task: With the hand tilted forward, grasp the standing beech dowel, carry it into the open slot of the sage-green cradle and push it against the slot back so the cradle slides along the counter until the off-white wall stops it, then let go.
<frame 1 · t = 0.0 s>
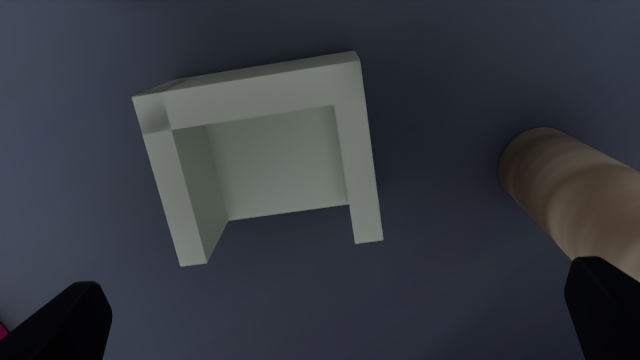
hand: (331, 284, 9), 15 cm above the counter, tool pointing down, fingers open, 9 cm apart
cradle: (270, 154, 22), point 3 cm above the counter, slide at 0.0 cm
dowel: (537, 165, 24), on the counter
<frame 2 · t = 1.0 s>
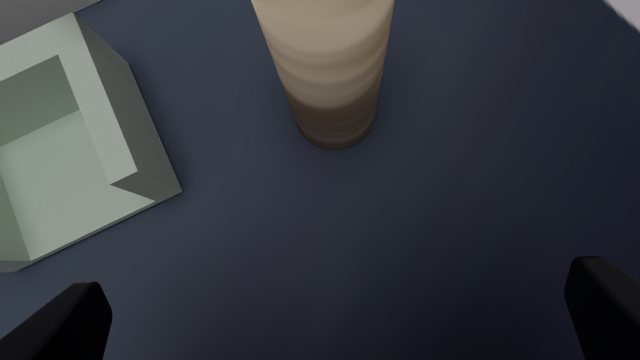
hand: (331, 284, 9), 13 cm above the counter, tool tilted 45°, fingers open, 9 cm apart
cradle: (41, 151, 21), point 3 cm above the counter, slide at 0.0 cm
backstop wall: (20, 21, 26), on the counter
dowel: (334, 110, 24), on the counter
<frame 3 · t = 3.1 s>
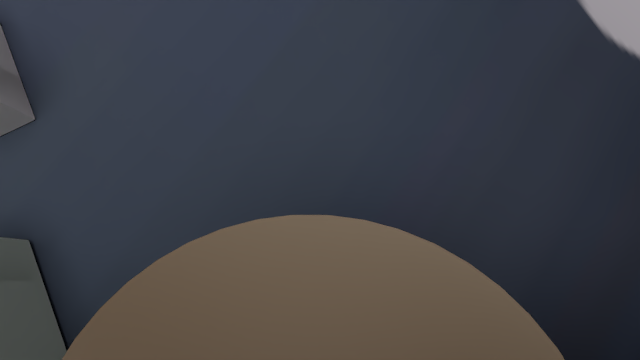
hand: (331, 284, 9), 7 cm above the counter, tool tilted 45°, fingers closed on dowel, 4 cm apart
dowel: (341, 324, 15), on the counter, touching gripper
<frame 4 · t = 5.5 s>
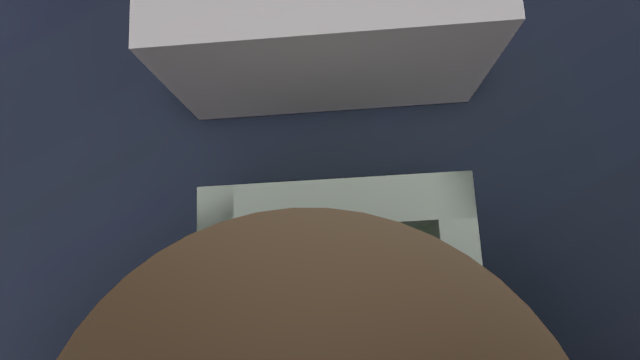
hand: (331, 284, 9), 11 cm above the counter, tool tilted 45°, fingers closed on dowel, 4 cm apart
cradle: (340, 294, 17), point 3 cm above the counter, slide at 0.0 cm
backstop wall: (330, 91, 21), on the counter
dowel: (341, 322, 15), point 4 cm above the counter, touching gripper
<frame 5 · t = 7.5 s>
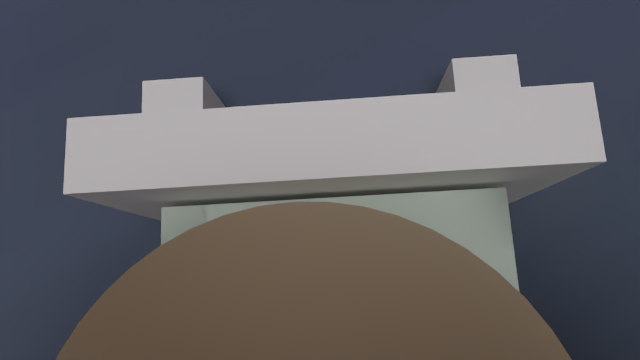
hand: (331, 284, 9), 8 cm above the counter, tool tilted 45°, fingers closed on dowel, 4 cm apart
cradle: (340, 336, 14), point 3 cm above the counter, slide at 4.0 cm
backstop wall: (334, 191, 18), on the counter
dowel: (341, 324, 15), point 1 cm above the counter, touching gripper
when the fingers open (8 cm above the counter, at t = 8.2 s): dowel stays where it is, resting on cradle.
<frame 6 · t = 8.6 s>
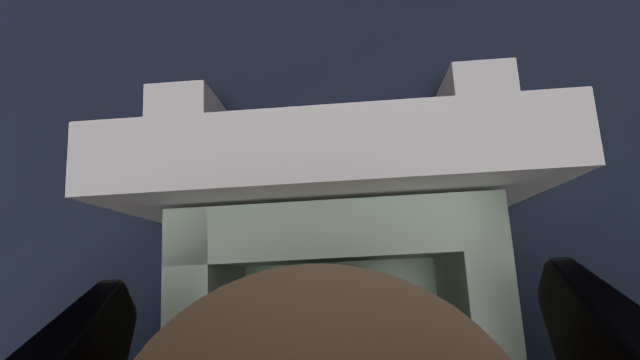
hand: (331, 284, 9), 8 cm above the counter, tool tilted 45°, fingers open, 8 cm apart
cradle: (341, 337, 14), point 3 cm above the counter, slide at 4.0 cm, touching dowel
backstop wall: (334, 193, 18), on the counter
dowel: (342, 331, 16), point 1 cm above the counter, touching cradle
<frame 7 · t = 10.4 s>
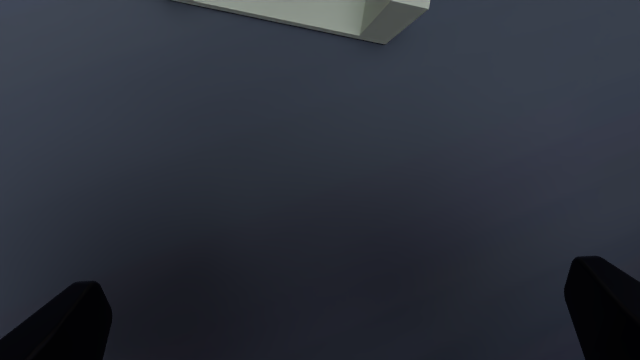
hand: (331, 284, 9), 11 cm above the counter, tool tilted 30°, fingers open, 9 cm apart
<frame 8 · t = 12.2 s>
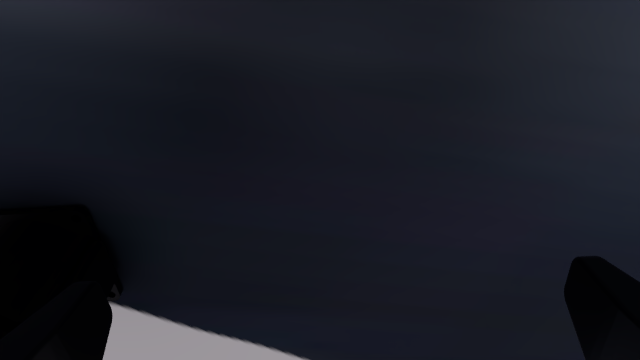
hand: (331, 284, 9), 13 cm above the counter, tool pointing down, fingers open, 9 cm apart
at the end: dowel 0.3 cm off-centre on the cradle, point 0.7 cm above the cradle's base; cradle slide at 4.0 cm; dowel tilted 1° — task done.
